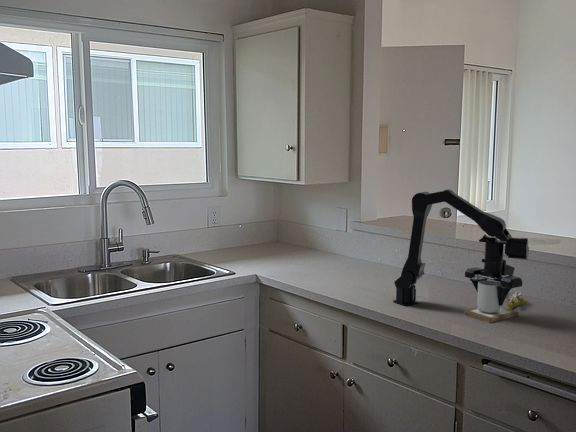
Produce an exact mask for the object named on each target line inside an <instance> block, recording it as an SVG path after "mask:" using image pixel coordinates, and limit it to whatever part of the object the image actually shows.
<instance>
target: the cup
mask: <svg viewBox="0 0 576 432" xmlns="http://www.w3.org/2000/svg"><path fill="white" fill-rule="evenodd" d="M497 286H501V284H500V282H498V281H494V280H488V279H487V280H484V281H479V282H478V293H477V294H476V295H477V296H476V297H477V299H476V308H478V310H480V311H483V312H490V313H494V312H498V311H499V310H500V307H501V306H499V302H498V291H497Z"/></svg>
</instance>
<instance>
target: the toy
mask: <svg viewBox="0 0 576 432" xmlns="http://www.w3.org/2000/svg"><path fill="white" fill-rule="evenodd" d="M510 297H511V298H510ZM505 300H506V301H507V302H508V304H507V306H508V308H509V310H511V309H514V308H515V307H517V306H521V305H523V304H524V303H525V299H524V297H523V293H522V292H517V291H515V290H513V291H512V295H511V294H510V292H508V294H507V296H506V298H505Z"/></svg>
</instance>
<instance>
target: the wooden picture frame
mask: <svg viewBox="0 0 576 432" xmlns="http://www.w3.org/2000/svg"><path fill="white" fill-rule="evenodd" d="M518 313H519V312H518V311H517V310H516V311H515V310H511V309H510V308H509V309H508V308H505V307H502V306H500V310H499V311H498V312H494V313H490V312H483V311H480V310H478V308H477V307H476V308H472V309H467V310H464V313H463V314H464V315H465V316H468V317H471V318H474V319H478V320H479V321H483V322H486V323H493V322H497V321H501V320H506V319H509V318H514V317H517V316H519V314H518Z"/></svg>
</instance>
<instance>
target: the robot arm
mask: <svg viewBox="0 0 576 432" xmlns="http://www.w3.org/2000/svg"><path fill="white" fill-rule="evenodd" d="M440 203H446V204H448V205H449V206H451V207H452V208H453V209H456V210H457V211H459V213H461V214H463V215H465V216H466V217H467V218H469V219H470V220H472V221H474V222H475V223H476V224H477V226H478V227H479V228H480V229H481V231H483V232H484V233H485V234H483V236H482V237H481V238H480V239H478V242H479V243H484V258H481V263H483V268H481V267H469V268H466V270H465V271H464V277H465V278H468V279H469V281H470V282H471V284H472V285H473V287H474V289H475V291H476V293H477V294H478V282H479V281H484V280H487V281H488V280H489V281H496V282H499V283H500V284H501V286H497V291H498V302H499V306H500V307H502V306H503V305H504V302H505V300H506V296H508V295H507V294H508V293H510V291H511V290H512V289H515V288H521V287H523V279H522V277H518V276H514V272H515V269H516V268H515V267H514V266H511V265H509V264H507V261H506V259H504V255H506V256H507V257H508V259H517V260H526V261H527V260H528V259H529V252H530V247H529V238H528V237H513V236H512V235H511V233H510V232H509V230H508V229H507V225H506V221H505V220H504V219H503V218H501V217H499V216H498V215H497V216H496V215H494V214H492V213H489V212H486V211H483V210H482V209H480V208H479V207H477V206H475V205H474V204H472V203H471V202H469V201H468V200H466V199H465V198H463V197H461V196H460V195H459V194H457V193H455V191H453V190H452V189H448V188H447V189H443V190H442V191H441V190H440V191H436V192H431V193H430V192H429V191H421V192H418V193H415V194H414V195H413V196H412V197H411V212H412V216H413V221H412V229H411V235H410V239H409V242H410V243H409V246H408V247H409V248H408V255H407V258H406V261H405V263H404V265H403V267H402V270H401V274H400V277H398V278H397V279H395V280H394V282H393V283H394V287H395V289H396V290H395V293H396V294H395V296H396V297H395V299H394V300H393V299H392V302H393V303H396V304H398V305H401V306H405V307H406V306H411V305H417V304H419V301H417V300H416V297H417V289H416V284H417V282H418V281H419V280H421V278H423V276H424V275H425V267H426V263H425V262H422V252H423V244H424V238H425V232H426V224H427V218H428V216H429V214H430V212H431V211H432V208H433V205H434V204H440Z"/></svg>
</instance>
